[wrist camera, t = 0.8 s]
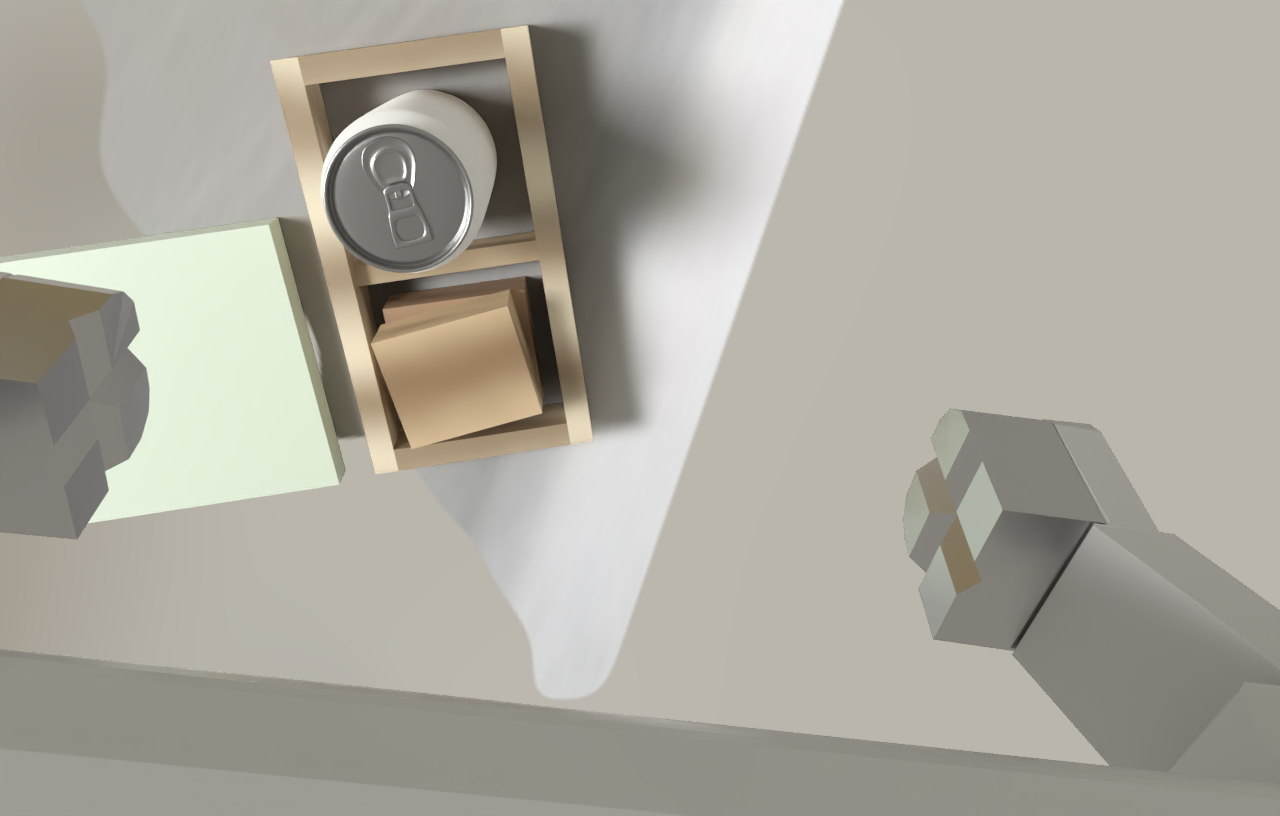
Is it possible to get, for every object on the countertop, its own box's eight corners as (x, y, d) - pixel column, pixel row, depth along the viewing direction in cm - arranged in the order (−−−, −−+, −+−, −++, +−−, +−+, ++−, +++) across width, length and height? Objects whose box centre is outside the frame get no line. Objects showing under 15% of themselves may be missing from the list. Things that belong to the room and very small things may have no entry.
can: (476, 74, 47) (456, 93, 36) (513, 206, 50) (504, 261, 39) (345, 106, 47) (284, 135, 36) (388, 236, 50) (344, 301, 39)
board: (345, 469, 54) (339, 484, 52) (88, 509, 54) (73, 525, 52) (278, 217, 49) (268, 224, 47) (-9, 258, 48) (-29, 267, 47)
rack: (590, 419, 54) (593, 440, 52) (384, 450, 54) (375, 474, 51) (528, 24, 47) (527, 25, 44) (286, 57, 46) (269, 61, 43)
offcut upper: (542, 391, 51) (542, 413, 48) (419, 425, 51) (411, 449, 48) (509, 289, 49) (507, 305, 46) (380, 324, 49) (370, 344, 46)
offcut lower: (543, 381, 54) (543, 401, 51) (414, 399, 53) (407, 421, 51) (525, 274, 51) (524, 289, 49) (391, 293, 51) (382, 309, 48)
